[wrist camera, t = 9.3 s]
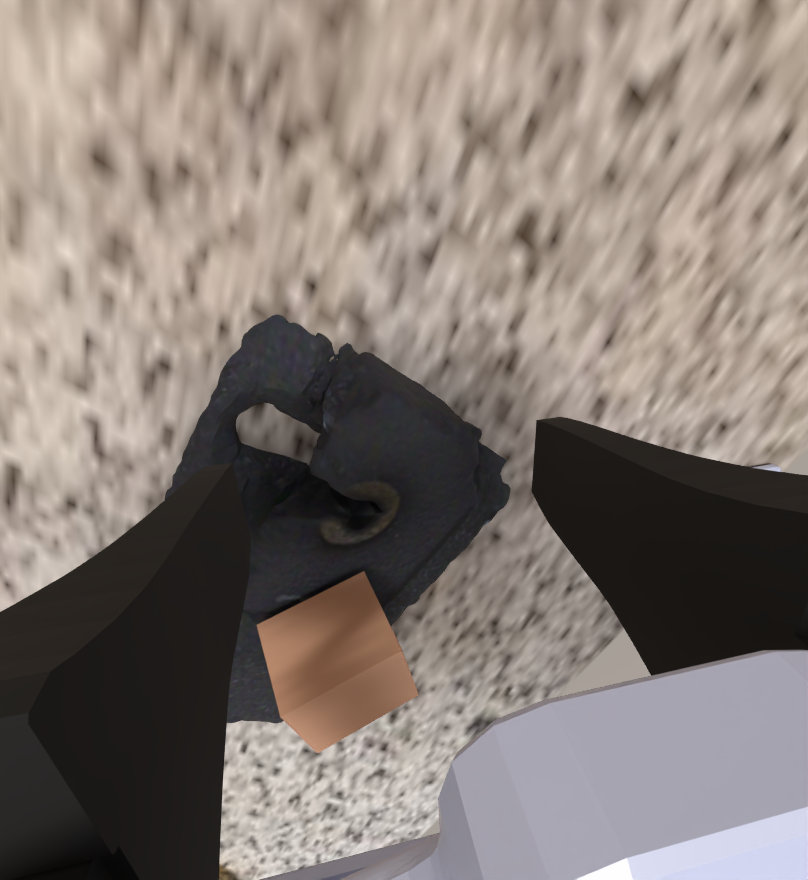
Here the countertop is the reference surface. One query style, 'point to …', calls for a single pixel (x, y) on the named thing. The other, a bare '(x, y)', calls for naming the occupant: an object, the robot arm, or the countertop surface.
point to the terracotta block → (335, 663)
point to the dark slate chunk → (339, 485)
